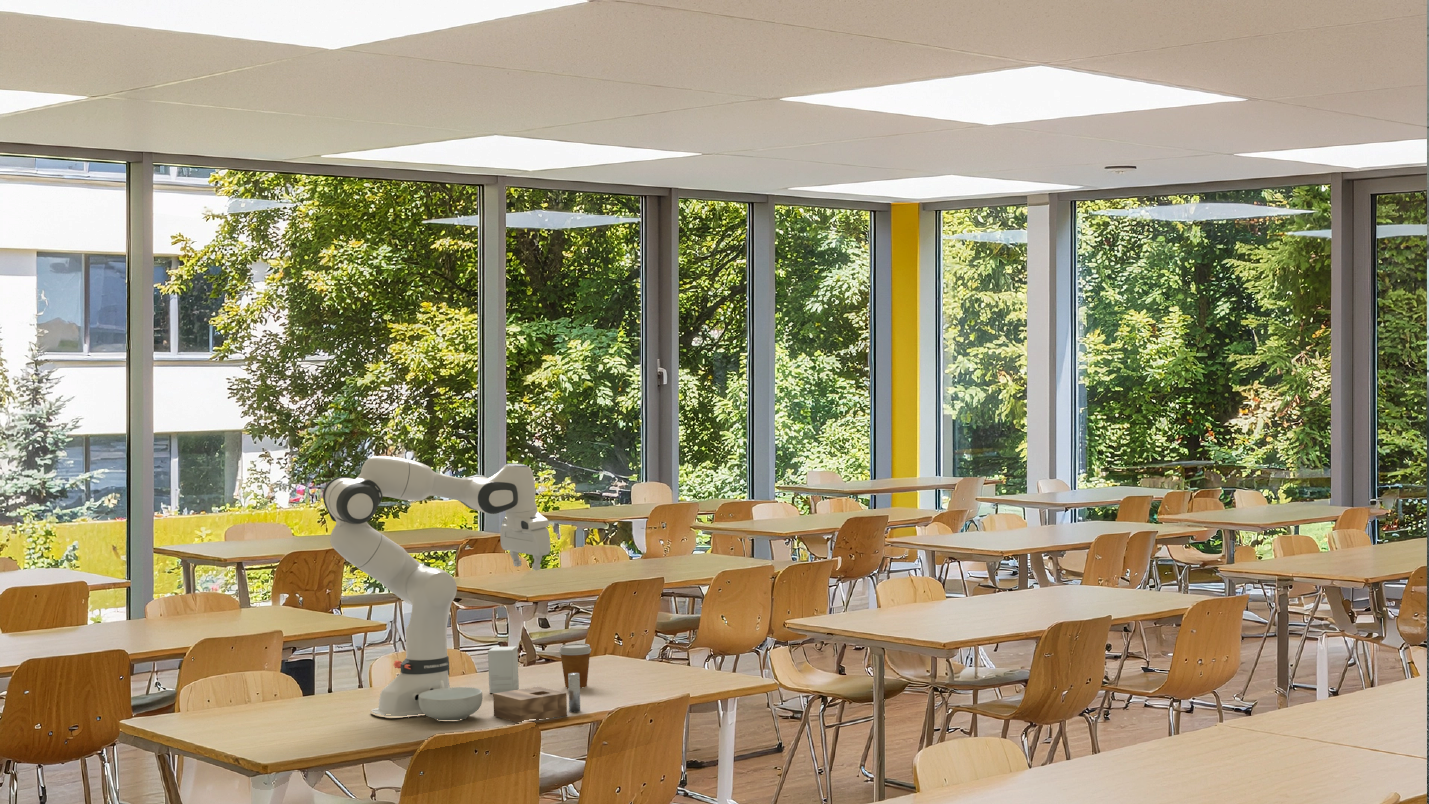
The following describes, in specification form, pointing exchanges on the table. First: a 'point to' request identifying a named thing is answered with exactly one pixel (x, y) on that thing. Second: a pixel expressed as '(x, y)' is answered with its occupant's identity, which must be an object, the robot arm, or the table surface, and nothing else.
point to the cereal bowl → (450, 702)
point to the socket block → (530, 704)
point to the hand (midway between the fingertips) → (527, 567)
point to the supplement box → (503, 669)
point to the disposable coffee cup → (575, 661)
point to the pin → (574, 692)
